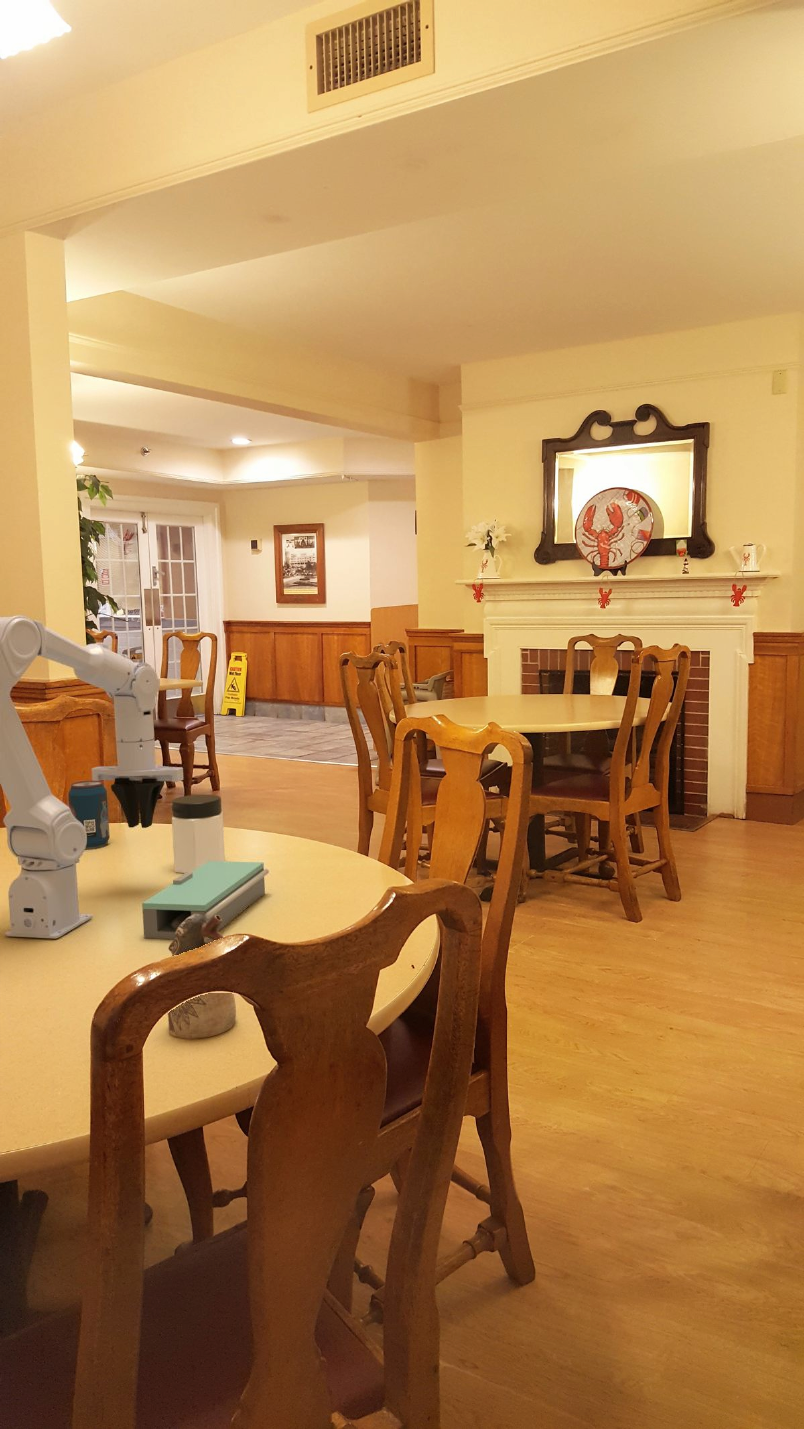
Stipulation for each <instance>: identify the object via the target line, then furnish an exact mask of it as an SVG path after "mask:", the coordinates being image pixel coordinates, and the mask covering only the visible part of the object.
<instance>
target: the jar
mask: <svg viewBox="0 0 804 1429" xmlns="http://www.w3.org/2000/svg"><path fill="white" fill-rule="evenodd" d="M171 804H172V806H171V810H172V818H171V828H172V829H171V830H172V849H173V864H174V867H173V868H174V872H175V873H178V874H184V873H191V872H192V871H194V870H196V869H197V868H199V867H200V866H202V865H204V864H205V863H207V862H208V861H222V862H226V855H225V854H226V853H225V836H224V835H225V834H224V831H225V830H224V812H223V810H222V798H221V796H220V795H215V794H191V795H184V796H179V797H176V798H174V799H173V800H172V803H171Z"/></svg>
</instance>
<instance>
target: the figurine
mask: <svg viewBox="0 0 804 1429" xmlns="http://www.w3.org/2000/svg"><path fill="white" fill-rule="evenodd" d="M221 922H222V919H221V918H220V916H219V915H215V916H213V917H212V918H211V919H210V920H209V922H208V923H206V920H205V919H204V917H203V916H202V915H200V914H194V915H192V916H190V917H188V918H187V919H186V920H185V921H183V923H182V924H181V925H180V926H179V927H178V928H177V930H176V932H175V939H174V940H173V941H172V942H170V944H169V946H168V950H169V951H170V953H171V957H172V956H174V955H179V954H181V953H183V952H187V951H189V950H193V949H195V948H199V947H201V946H203V945H205V944H208V943H210V942H213V941H214V940H218V939H220V938H224V936H223V935H222V934H221V932H220V931H217V928H218V927H219V925H220V924H221ZM236 1008H237V1006H236V999H235V993H234V994H232V993H208V994H205V995H200V996H198V997H195V998H193V999H190V1000H188V1001H186V1002H185V1003H182V1004H181V1005H179V1006H178V1007H176V1008H175V1009H173V1010H171V1011H170V1012H169V1013H168V1012H167V1016H168V1018H167V1019H168V1020H167V1021H168V1031H169V1034H170V1036H173V1037H175V1038H177V1039H178V1038H180V1039H186V1040H195V1039H203V1038H209V1037H214V1036H218V1035H220V1034H223V1033H226V1031H229V1030H230V1029H232V1027H233V1026H234V1023H235V1021H236V1017H237V1009H236Z"/></svg>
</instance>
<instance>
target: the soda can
mask: <svg viewBox="0 0 804 1429" xmlns="http://www.w3.org/2000/svg"><path fill="white" fill-rule="evenodd" d="M108 805H109V803H108V791H107V789H106V787H105V786H104V781H103V780H99V781H93V780H82V781H76V782H72V783H71V784H70V788H69V791H68V807H69V808H70V809H71V812H72V814H73V816H74V817H75V818H76V819H77V820H78V821H80V822H81V823H82V824H83V826H84V828H85V830H86V834H87V843H86V847H85V850H93V849H100V848H103V847H106V846H107V844H108V842H109V839H111V838H110V836H111V835H110V824H109V821H110V820H109V806H108Z"/></svg>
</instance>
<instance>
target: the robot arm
mask: <svg viewBox="0 0 804 1429" xmlns="http://www.w3.org/2000/svg"><path fill="white" fill-rule="evenodd" d="M38 656H39V657H41V658H44V659H47V660H50V661H53V662H55V663H58V664H61V665H64V666H67V667H69V668H72V669H73V672H74V675H75V677H76V678H77V679H78V680H80V681H82V682H84V683H87V684H89V685H92V686H94V687H97V688H98V689H100V690H103V691H104V692H105V693H106V695H107V696H108V697H109V698H110V699H113V710H114V727H115V742H116V743H115V744H116V759H117V765H113V766H111V765H110V766H96V767H92V768H91V779H92V780H91V781H114V782H113V784H111V785H110V789H111V791H112V792H113V794H114V796H115V797H116V798H117V800H118V802H119V804H120V805H121V808H122V810H123V814H124V815H125V819H126V821H127V825H128V828H132V829H133V828H135V827H137V826H139V825H140V824H141V825H140V826H141V828H142V829H147V828H149V827H151V826H152V825H153V819H154V813H155V809H156V806H157V801H158V800H159V797H160V794H161V792H162V790H163V789H164V786H165V782H172V783H179V782H180V781H183V780H184V768H183V767H181V766H179V767H178V766H165V765H164V766H163V765H157V764H156V763H157V762H156V748H155V746H156V745H155V742H156V741H155V729H154V728H155V727H154V726H155V725H154V710H155V707H156V704H157V703H156V702H157V701H156V698H157V694H158V692H159V689H160V685H161V679H160V678H158V674H157V672H156V670H155V669H154V668H153V667H152V666H151V665H150V664H149V663H147V662H134V661H133V660H131V659H130V658H131V657H130V656H129V655H127V654H122V653H121V654H119V653H117V652H114V651H112V650H110V649H109V644H106V643H104V642H94V643H89V644H87V645H85V646H82V645H80V644H79V643H76V641H73V640H71V639H69V638H68V637H65V636H63V635H62V634H60V633H58V632H57V631H55V630H52V629H51V628H49V627H47V626H46V625H44V624H43V622H42V621H39V620H34V619H33V620H32V619H31V618H29V617H27V616H25V615H13V616H3V617H2V616H0V786H1V788H2V791H3V793H4V795H5V797H6V799H7V801H8V804H9V806H10V809H9V810H8V811H7V813H6V814H5V816H4V817H3V820H2V821H3V824H4V825H5V829H6V835H7V836H6V838H7V840H6V841H7V847H8V849H9V851H10V852H11V854H12V856H14V857H16V858H17V865H19V866H21V869H20V873H19V875H18V876H17V877H16V878H15V879H14V880H13V881H12V882H11V884H10V886H9V889H8V895H7V896H8V907H9V908H8V910H9V923H10V929H9V930H8V931H5V936H6V937H18V938H19V937H20V938H37V939H59V938H60V937H61V936H62V937H63V936H64V935H65V934H67V933H68V932H70V931H71V930H74V929H75V928H78V927H79V926H80V925H82V924H84V923H86V922H87V921H89V920H90V919H92V918H93V914H90V913H80V906H79V892H78V891H79V890H78V888H79V887H78V874H77V864H78V863H80V858H81V857H82V856H83V855H84V852H85V850H86V849H85V847H86V843H87V834H86V830H85V828H84V826H83V824H82V823H81V822H80V821H78V820H77V819H76V818H75V817H74V816H73V814H72V812H71V809H70V808H69V805H67V804H66V803H64V802H63V801H62V800H60V799H59V798H58V797H56V796H55V795H53V793H52V791H51V789H50V786H49V784H48V782H47V779H46V777H45V775H44V772H43V769H42V767H41V765H40V763H39V761H38V758H37V756H36V753H35V752H34V749H33V746H32V744H31V742H30V739H29V737H28V735H27V733H26V730H25V728H24V725H23V723H22V721H21V718H20V715H19V714H18V711H17V709H16V706H15V705H14V702H13V699H12V697H11V691H12V689H13V687H15V686H16V685H17V683H18V682H19V681H20V679H21V678H22V676H23V675H24V674H25V673H26V672H27V670H28V669H29V667H30V666H31V665H32V663H34V661H35V659H36V657H38Z"/></svg>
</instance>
